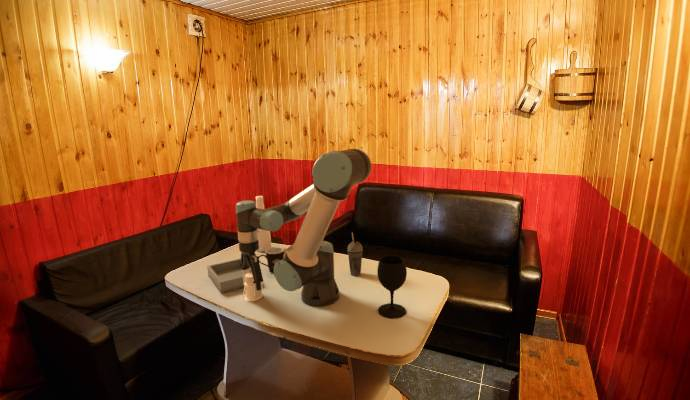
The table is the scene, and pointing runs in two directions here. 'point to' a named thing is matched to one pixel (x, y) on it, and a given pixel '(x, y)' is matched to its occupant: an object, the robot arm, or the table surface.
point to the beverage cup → (355, 257)
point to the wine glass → (392, 283)
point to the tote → (227, 275)
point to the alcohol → (263, 235)
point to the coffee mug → (273, 257)
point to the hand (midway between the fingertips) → (252, 290)
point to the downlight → (250, 288)
